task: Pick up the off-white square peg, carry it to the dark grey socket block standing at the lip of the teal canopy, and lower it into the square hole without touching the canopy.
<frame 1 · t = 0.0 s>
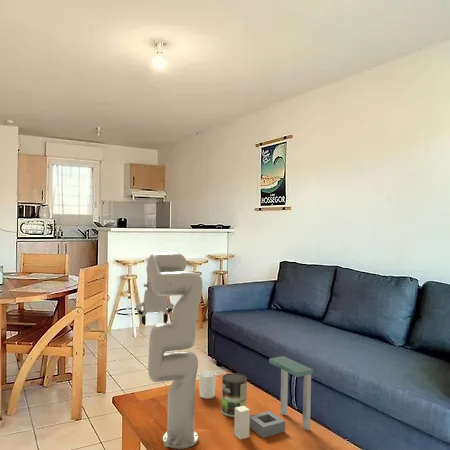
hand: (154, 323, 195), 31 cm above the table, tool pointing down, fingers open, 9 cm apart
white cup: (207, 396, 193), on the table
socket: (266, 429, 163), on the table
coffee can: (233, 411, 178), on the table
peg: (241, 435, 158), on the table
canopy: (289, 393, 168), on the table
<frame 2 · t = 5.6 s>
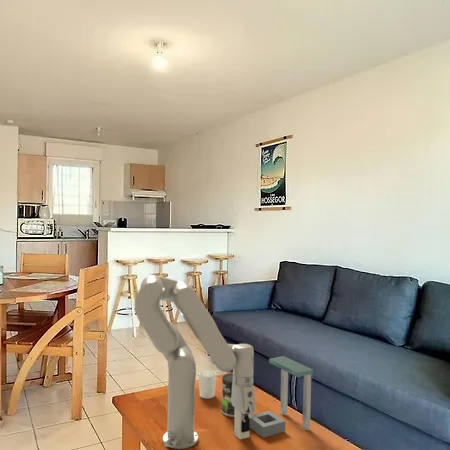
hand: (241, 428, 157), 3 cm above the table, tool pointing down, fingers closed on peg, 4 cm apart
peg: (241, 435, 158), on the table, touching gripper
everything else where it was.
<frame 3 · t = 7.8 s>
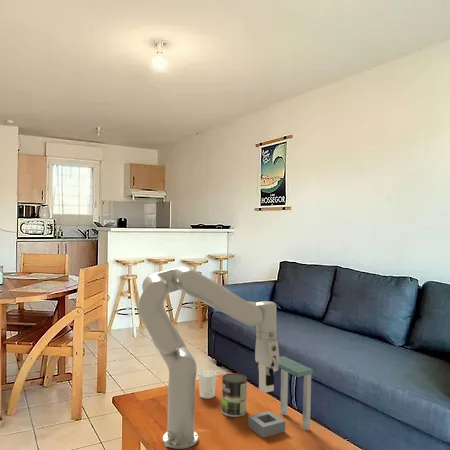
hand: (266, 382, 162), 18 cm above the table, tool pointing down, fingers closed on peg, 4 cm apart
peg: (266, 389, 162), point 15 cm above the table, touching gripper
everything else where it was.
when the fingers open (6 cm above the table, at t = 10.5 s): peg drops 3 cm, resting in socket.
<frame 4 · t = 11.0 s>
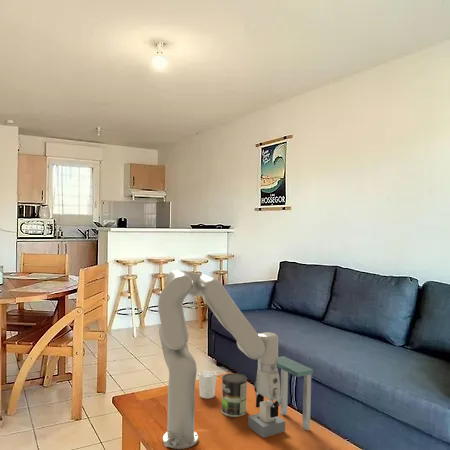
hand: (266, 411, 163), 7 cm above the table, tool pointing down, fingers open, 9 cm apart
peg: (266, 429, 163), resting in socket
everything else where it was.
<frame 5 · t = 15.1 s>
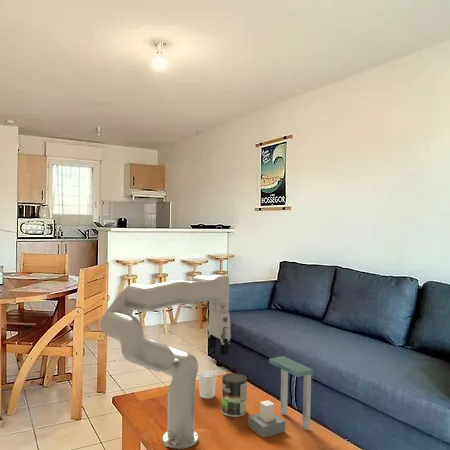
hand: (218, 351, 166), 28 cm above the table, tool pointing down, fingers open, 9 cm apart
nothing on the table moved.
at the end: peg 0.1 cm off-centre on the socket, point 0.0 cm above the socket's base; peg tilted 0°; the gripper is holding nothing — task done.
